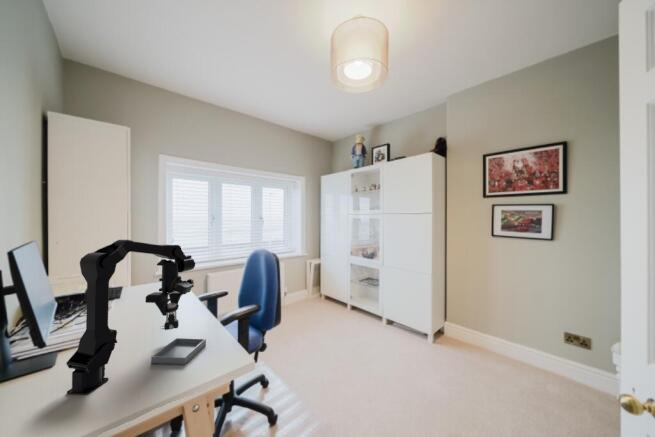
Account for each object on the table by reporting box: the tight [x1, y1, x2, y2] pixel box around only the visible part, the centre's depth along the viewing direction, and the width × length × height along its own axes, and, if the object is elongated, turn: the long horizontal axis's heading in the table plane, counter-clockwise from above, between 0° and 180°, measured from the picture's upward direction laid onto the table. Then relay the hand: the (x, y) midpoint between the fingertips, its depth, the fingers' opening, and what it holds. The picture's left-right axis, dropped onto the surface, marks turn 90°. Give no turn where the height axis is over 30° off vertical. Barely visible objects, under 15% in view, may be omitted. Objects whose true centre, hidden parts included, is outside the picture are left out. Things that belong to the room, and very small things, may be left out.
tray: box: [150, 337, 207, 366], centre depth 88 cm, size 13×12×2 cm
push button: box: [159, 302, 180, 331], centre depth 97 cm, size 7×5×10 cm
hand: (169, 312), depth 97 cm, fingers closed on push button, 5 cm apart
